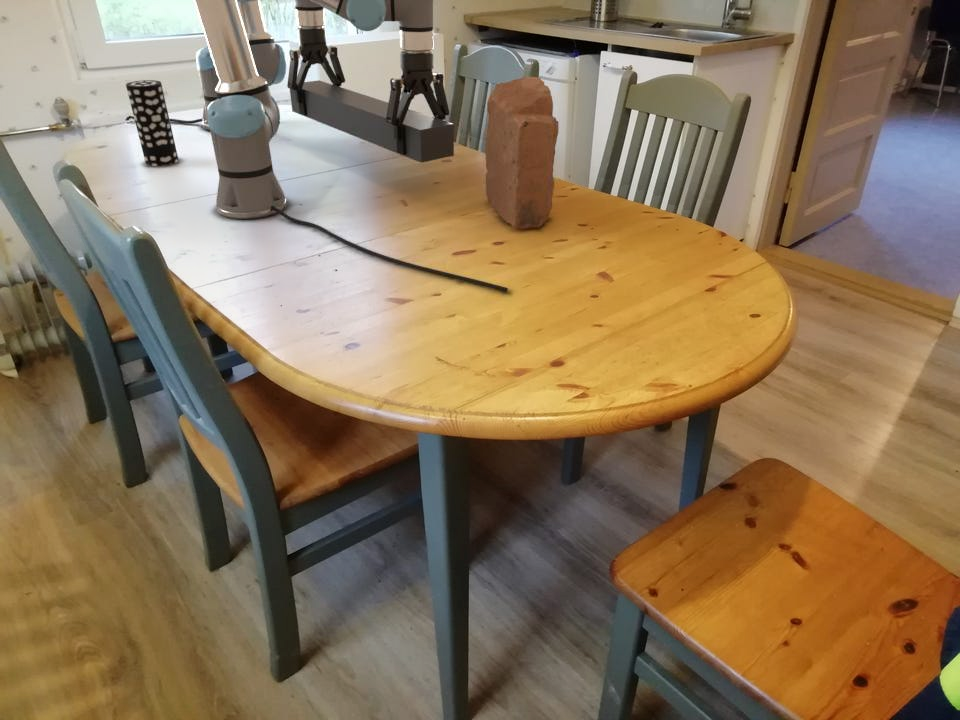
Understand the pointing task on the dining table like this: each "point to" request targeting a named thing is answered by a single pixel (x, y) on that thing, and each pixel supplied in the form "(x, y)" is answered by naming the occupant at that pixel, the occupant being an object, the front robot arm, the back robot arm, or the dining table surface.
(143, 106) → the black white spotted cylinder
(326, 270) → the dining table surface
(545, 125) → the stone
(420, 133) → the wide beam
